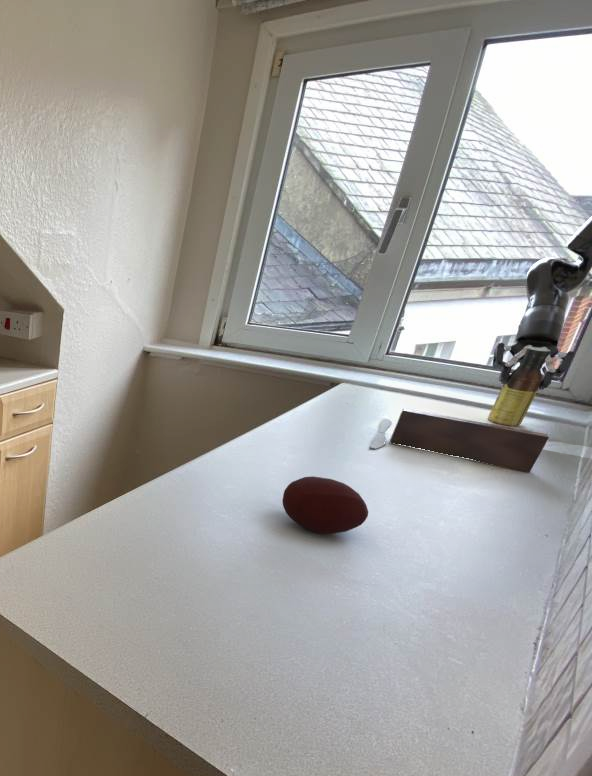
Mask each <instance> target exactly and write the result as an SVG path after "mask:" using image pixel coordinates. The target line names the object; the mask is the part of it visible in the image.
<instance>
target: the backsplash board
mask: <svg viewBox="0 0 592 776" xmlns="http://www.w3.org/2000/svg"><path fill="white" fill-rule="evenodd" d="M549 439H550V436H549V435H548V433H543V432H538V431H531V430H527V429H521V428H515V427H511V426H506V425H500V424H495V423H493V424H492V423H489V422H482V421H478V420H477V421H476V420H472V419H466V418H460V417H455V416H449V415H443V414H438V413H432V412H427V411H422V410H415V409H410V408H404V407H403V408H402V410H401V413H400V415H399V417H398V419H397V422H396V423H395V427H394V429H393V432H392V434H391V436H390V439H389V443H390V442H391V443H395V444H401V445H406V446H411V447H415V448H421V449H425V450H430V451H434V452H438V453H443V454H448V455H453V456H459V457H464V458H469V459H473V460H476V461H480V462H479V463H481V462H484V463H483V464H485V463H488V464H487V465H490V464H493V465H492V466H495V465H496V467H500V466H501V467H500V468H504V467H505V468H504V469H510V470H514V471H519V472H524V473H527V474H528V473H529V474H530V473H531V471H532V469H533V467H534V465H535V464H536V462H537V460H538V458H539V457H540V455H541V453H542V451H543V450H544V448H545V446H546V444H547V442H548V440H549ZM395 444H394V445H395ZM438 453H437V454H438ZM443 454H442V455H443ZM476 461H475V462H476Z"/></svg>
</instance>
